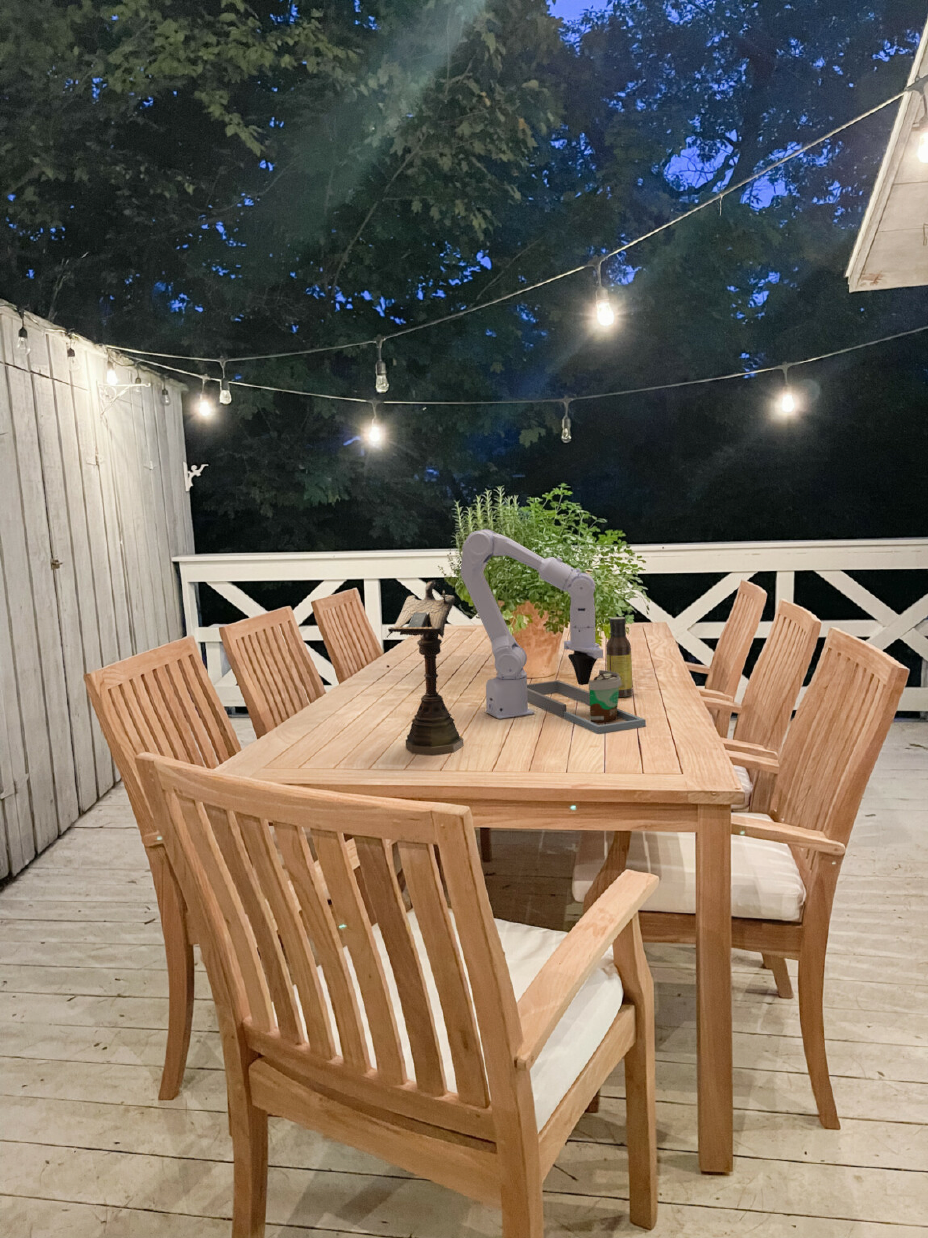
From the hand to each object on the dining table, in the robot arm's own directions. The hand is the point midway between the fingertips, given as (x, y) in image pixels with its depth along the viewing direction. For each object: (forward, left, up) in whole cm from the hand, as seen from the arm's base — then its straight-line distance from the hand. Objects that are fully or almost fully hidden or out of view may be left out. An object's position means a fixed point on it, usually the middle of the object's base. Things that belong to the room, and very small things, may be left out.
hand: (583, 684), depth 193 cm
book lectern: (-41, -10, -7) cm, 43 cm away
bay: (0, -8, -7) cm, 10 cm away
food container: (+3, -7, -7) cm, 10 cm away
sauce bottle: (+17, +11, -7) cm, 22 cm away
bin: (0, +11, -7) cm, 13 cm away
